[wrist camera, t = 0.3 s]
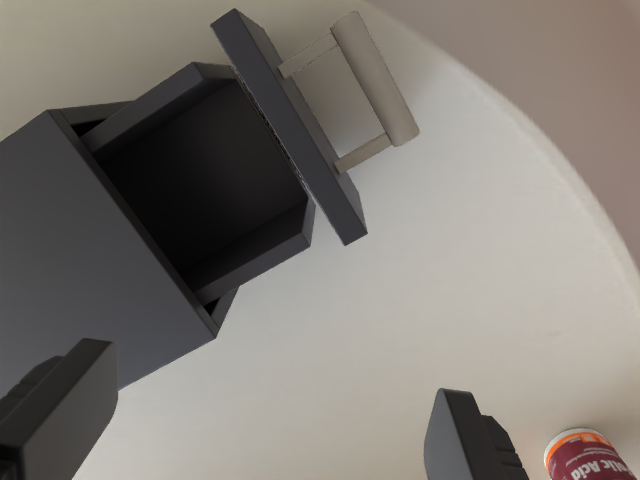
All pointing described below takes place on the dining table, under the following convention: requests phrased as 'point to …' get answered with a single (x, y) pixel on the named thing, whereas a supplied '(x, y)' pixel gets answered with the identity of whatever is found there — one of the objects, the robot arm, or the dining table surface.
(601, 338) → the dining table surface
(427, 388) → the dining table surface
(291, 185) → the drawer
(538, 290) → the dining table surface
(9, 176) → the cabinet
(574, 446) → the pill bottle
